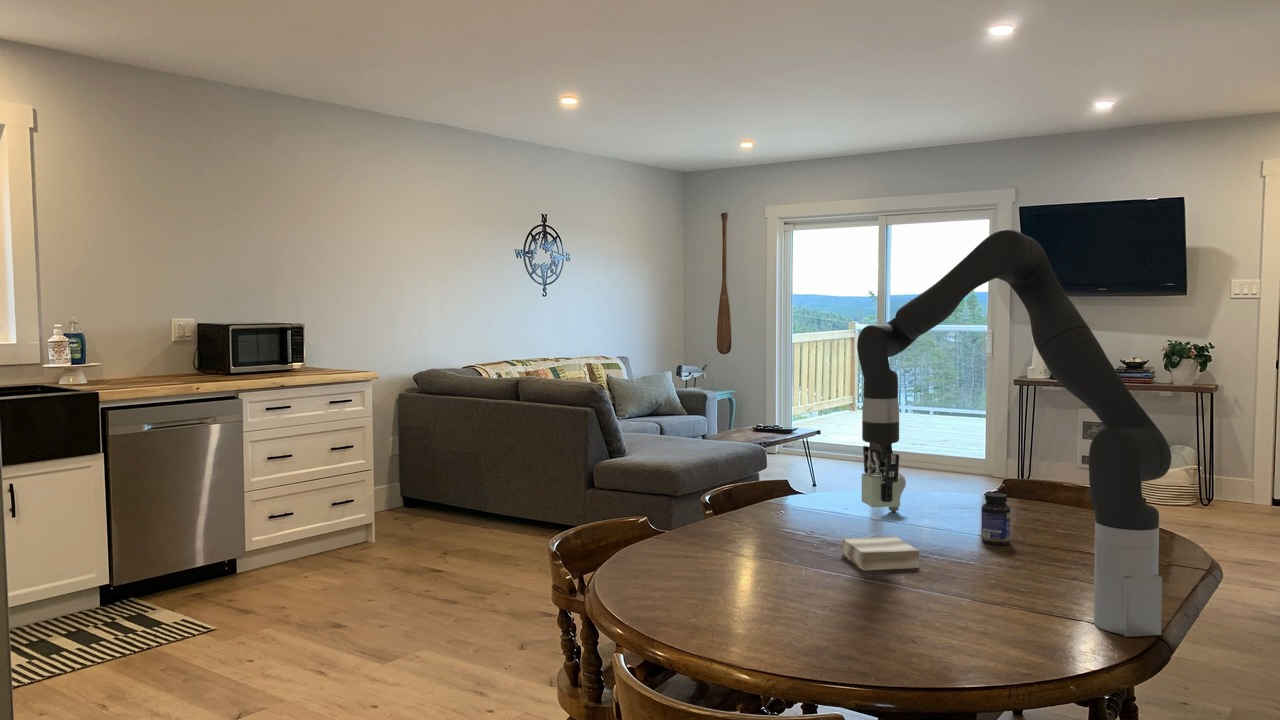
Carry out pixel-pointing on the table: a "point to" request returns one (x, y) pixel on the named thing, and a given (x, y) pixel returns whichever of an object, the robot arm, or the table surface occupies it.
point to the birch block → (880, 553)
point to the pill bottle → (996, 519)
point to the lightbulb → (902, 486)
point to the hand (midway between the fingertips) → (880, 498)
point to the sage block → (878, 491)
